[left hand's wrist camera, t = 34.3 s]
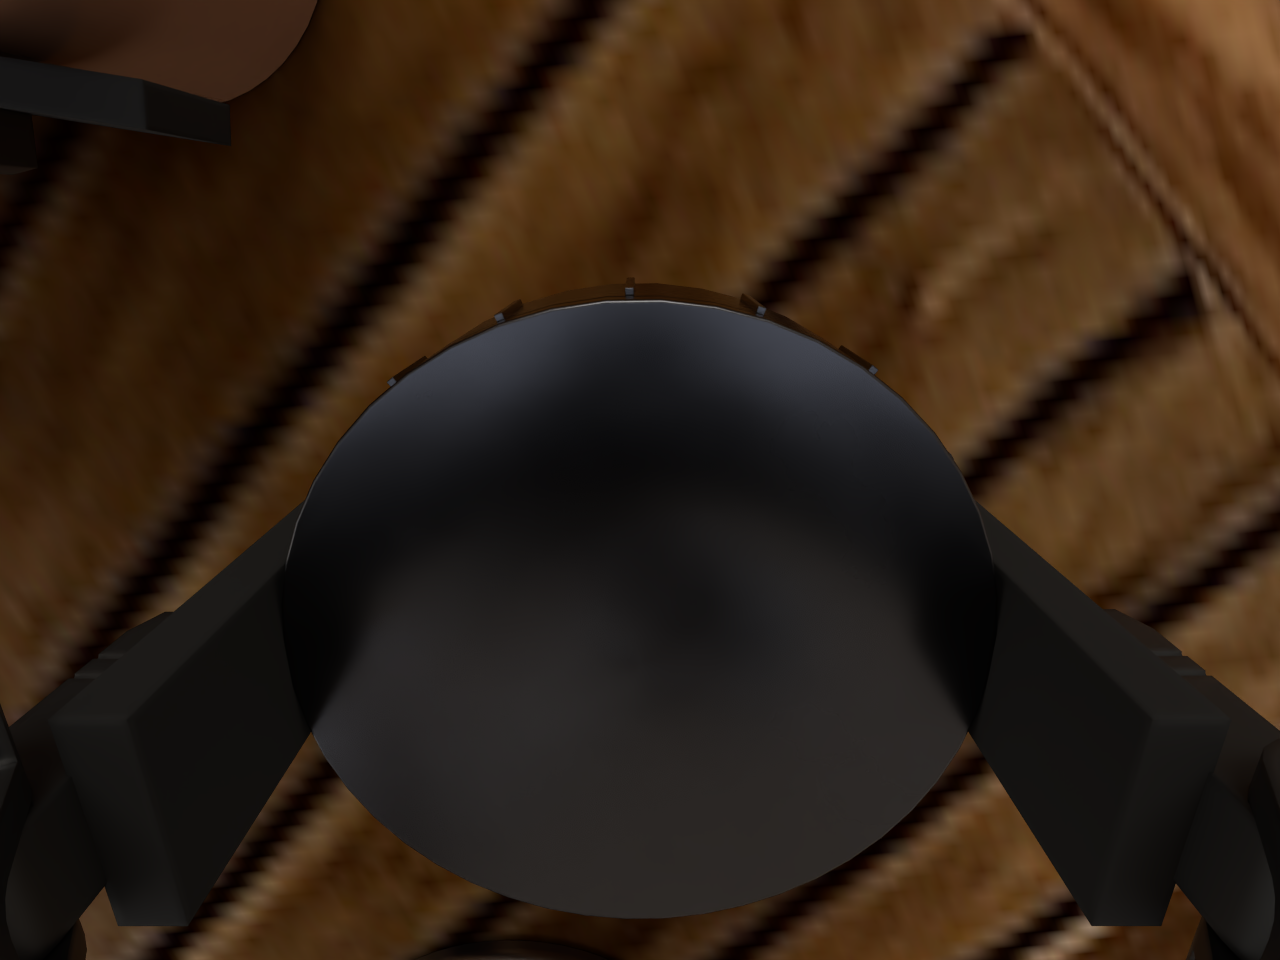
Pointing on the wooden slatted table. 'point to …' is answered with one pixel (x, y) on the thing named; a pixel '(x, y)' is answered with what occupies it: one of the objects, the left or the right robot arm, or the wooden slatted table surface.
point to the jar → (160, 39)
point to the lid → (639, 604)
